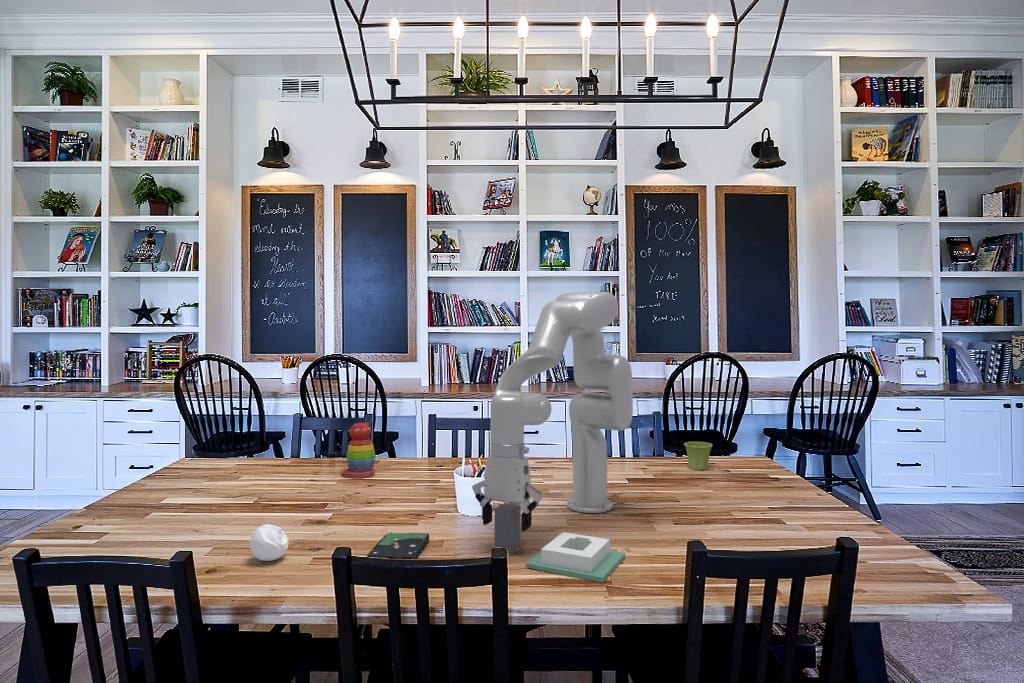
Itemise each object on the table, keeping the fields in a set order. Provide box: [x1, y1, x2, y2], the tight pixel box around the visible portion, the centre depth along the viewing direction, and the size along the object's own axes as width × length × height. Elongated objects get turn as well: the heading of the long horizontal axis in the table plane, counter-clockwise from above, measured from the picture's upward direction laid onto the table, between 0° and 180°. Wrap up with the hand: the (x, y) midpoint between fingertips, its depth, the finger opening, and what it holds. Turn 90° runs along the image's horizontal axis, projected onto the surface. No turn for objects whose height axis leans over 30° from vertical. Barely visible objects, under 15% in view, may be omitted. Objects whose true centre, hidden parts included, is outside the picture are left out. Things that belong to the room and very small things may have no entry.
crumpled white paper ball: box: [249, 523, 290, 562], centre depth 140 cm, size 8×8×8 cm
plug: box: [494, 502, 522, 556], centre depth 145 cm, size 6×4×10 cm, turn 153°
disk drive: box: [366, 532, 430, 560], centre depth 144 cm, size 10×3×15 cm
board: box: [524, 531, 626, 584], centre depth 138 cm, size 15×17×4 cm
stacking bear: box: [340, 422, 376, 480], centre depth 216 cm, size 11×10×18 cm
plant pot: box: [683, 441, 713, 472], centre depth 224 cm, size 9×9×9 cm
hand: (506, 526), depth 144 cm, fingers open, 9 cm apart
